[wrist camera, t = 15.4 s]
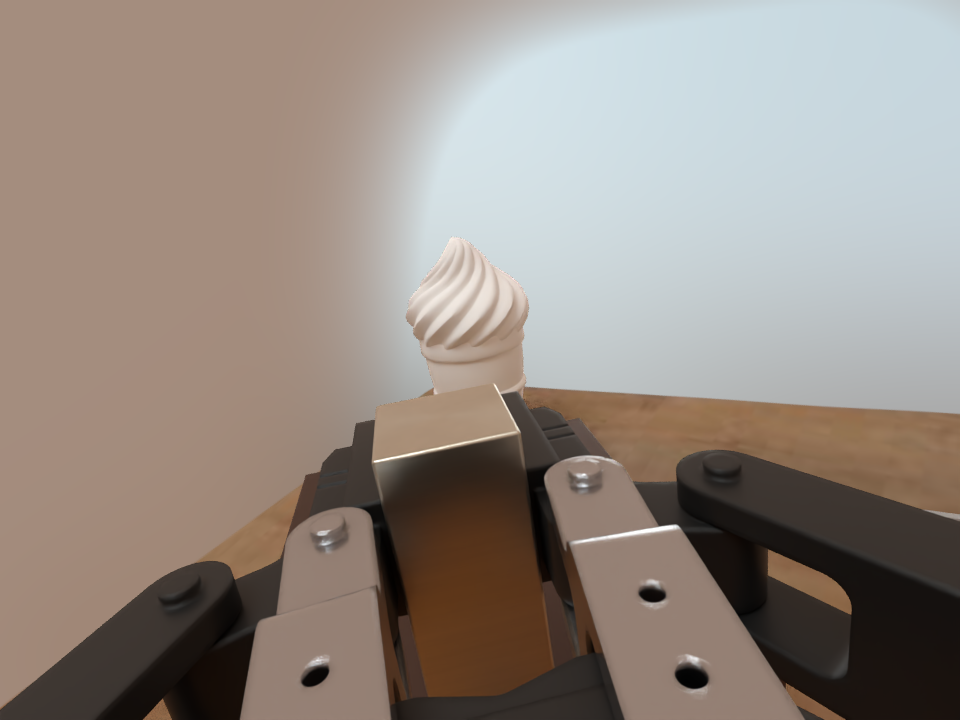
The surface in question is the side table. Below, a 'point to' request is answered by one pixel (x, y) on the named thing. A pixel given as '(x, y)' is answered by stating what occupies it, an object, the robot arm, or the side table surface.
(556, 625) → the cake
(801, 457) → the side table surface
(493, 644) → the tall metal bar
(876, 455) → the side table surface
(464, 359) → the ice cream cone
